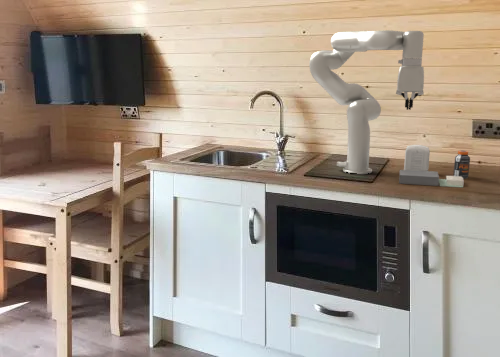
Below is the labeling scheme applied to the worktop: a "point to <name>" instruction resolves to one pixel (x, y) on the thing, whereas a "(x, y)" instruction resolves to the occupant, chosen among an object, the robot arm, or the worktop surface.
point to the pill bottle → (462, 164)
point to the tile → (454, 180)
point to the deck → (419, 177)
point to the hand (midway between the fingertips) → (408, 109)
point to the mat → (443, 183)
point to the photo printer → (417, 158)
